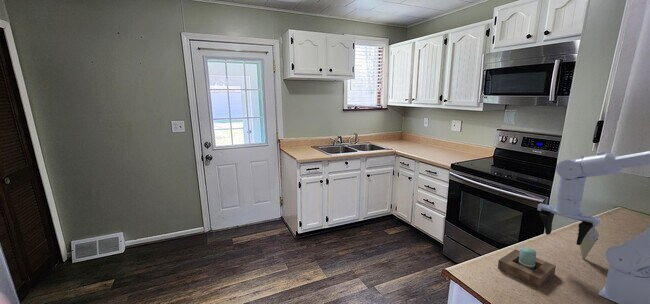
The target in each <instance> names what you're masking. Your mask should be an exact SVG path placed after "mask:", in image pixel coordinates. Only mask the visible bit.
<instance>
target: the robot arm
mask: <svg viewBox="0 0 650 304" xmlns="http://www.w3.org/2000/svg"><path fill="white" fill-rule="evenodd" d="M641 166H650V150H647V151H643V152H636V153H629V154H626V155H617V154H615V153H612V152H608V153H607V152H606V151H599V152H596V155H588V156H584V155H580V156H577V158H574V159H573V158H572V159H564V160H562V161H559V162H558V163H557V165H556V168H555V170H556V173H557V175H558V176H559V178H558V179H559V181H558V187H557V193H556V199H555V200H556V201H555V205H550V204H546V203H545V204H544V203H538V204H537V211H540V213H539V217H540V218H541V220H542V223H543V226H544V231H545V235H547V236H549V235H551V233H552V227H553V222H554V218H555V215H557V216H561V217H564V218H566V219H567V218H568V219H570V220H575V221H579V222H580V223H579V224H578V230H579V231H578V236H577V239H576V245H577V246H580V245H581V244H582V241H583V239H584V237H585V236H586V234H587V233H588V232H589V230H590V229H591V228H592V227H593V226H595V227H599V226H600V224H601V218H599V217H596V216H593V215H590V214H587V213H584V212H581V209H582V203H583V197H584V189H585V183H586V179H587V178H589V177H590V178H591V177H599V176H608V175H616V174H619V173H620V172H621V171H622V170H623V169H624V168H634V167H641ZM605 258H606V260H607V262H608V263H609V266H608V268H607V269H608V270H607V275H606V281H605V285H604V286H603V288H602V289H601V290H600V291H599V292H598V295H599V296H600V297H602V298H605V299H607V300H609V301H611V302H614V303H616V304H650V226H649V227H648V228H647V229H645V230H644V231H642V233H639V234H638V235H637V236H634V237H633V238H631V239H629V240H626V241H625V242H623V243H622V244H620V245H614V246H611V247H608V248H607V249H606V251H605Z"/></svg>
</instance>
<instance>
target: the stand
mask: <svg viewBox="0 0 650 304" xmlns="http://www.w3.org/2000/svg"><path fill="white" fill-rule="evenodd" d="M519 256H520V250H518V249H516V248H514V250H512V251H511V252H509V253H507V254H505V255H504V256H503V257H501V258H500V259H498V264H497V269H498V270H499V271H503V272H504V273H507V274H508V275H511V276H513V277H514V278H517V279H519V280H521V281H524V282H526V283H527V284H530V285H532V286H534V287H536V288H538V289H539V288H540V287H542V286H543V285H544V284H545V283H547V281H549V280H550V279H551V278H552V277H553V276H555V274H556V267H557V266H556V265H555V264H553V263H550V262H548V261H546V260H544V259H540V258H538V257H536V260H535V269H534V271H533V270H530V269H528V268H526V267H524V266H521V265H519Z"/></svg>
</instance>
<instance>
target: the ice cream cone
mask: <svg viewBox="0 0 650 304" xmlns="http://www.w3.org/2000/svg"><path fill="white" fill-rule="evenodd" d="M578 232H579V229H578ZM576 235H577V237H578V233H576ZM599 237H600V233H599V231H598V230H597V229H596V226H593V227H592V228H591V229H590V230H589V232H588V233H587V234H586V236H585V237H584V239H583V241H582V244H581V245H579V249H580V252H581V253H580V254H581V259H582V260H585V259H586V258H587V256H588V255H589V253H590V252H591V250H592V248H593V247H594V245H595V244H596V242H597V241H598V240H599Z"/></svg>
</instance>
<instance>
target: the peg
mask: <svg viewBox="0 0 650 304" xmlns="http://www.w3.org/2000/svg"><path fill="white" fill-rule="evenodd" d="M519 251H520V256H519V265H521V266H524V267H526V268H528V269H530V270H533V271H534V269H535V260H536V258H537V251H536V250H535V249H533V248H531V247H527V246H526V247H525V246H522V247H520V248H519Z"/></svg>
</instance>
